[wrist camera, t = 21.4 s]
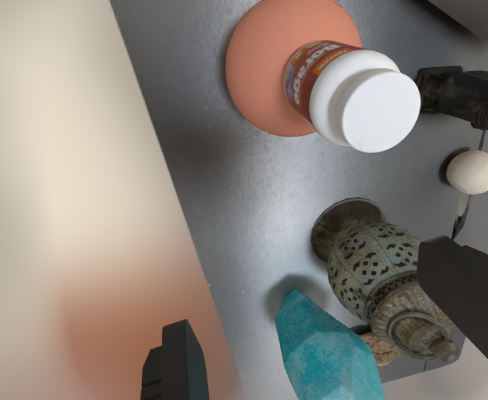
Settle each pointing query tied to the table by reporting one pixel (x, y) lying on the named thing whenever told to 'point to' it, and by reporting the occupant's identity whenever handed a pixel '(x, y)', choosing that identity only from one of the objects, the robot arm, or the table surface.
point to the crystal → (324, 354)
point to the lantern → (381, 278)
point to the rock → (380, 349)
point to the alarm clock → (467, 14)
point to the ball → (279, 57)
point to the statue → (455, 94)
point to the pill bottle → (352, 95)
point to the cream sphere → (469, 172)
